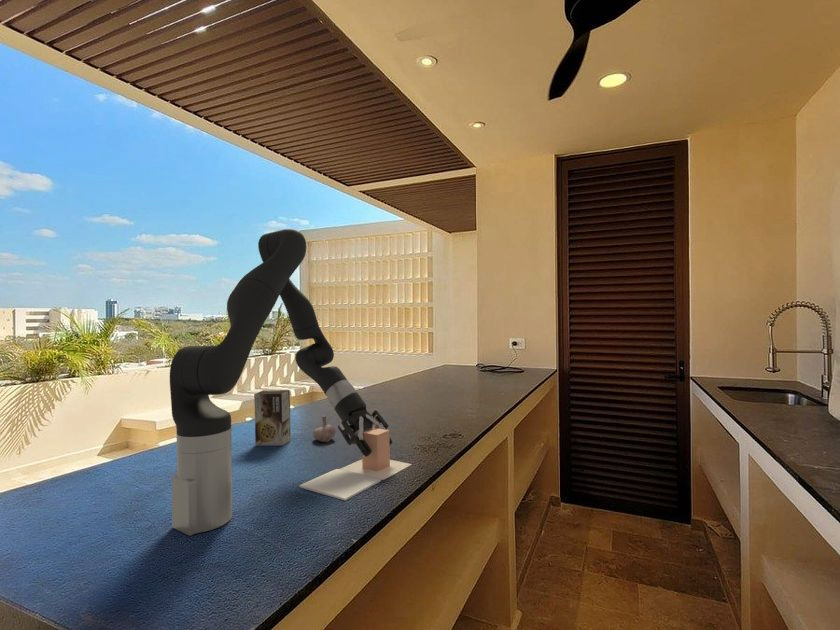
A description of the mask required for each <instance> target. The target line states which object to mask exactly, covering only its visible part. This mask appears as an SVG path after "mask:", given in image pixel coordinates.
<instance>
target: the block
mask: <svg viewBox="0 0 840 630" xmlns="http://www.w3.org/2000/svg"><path fill="white" fill-rule="evenodd" d="M389 437H390V429H386V430H384V429H378V428H373V429H370V430H367V431H364V432H363V439H364V440H365V441H366V443H367V444H368V446H369V447H370V449H371V450H372V452H371V454H370V455H369V456H367V457H365V455H363V454H362V453H361V456H362V458H361V459H362V468H365V469H369V470H374V471H380V470H382V469H384V468H386V467H388V466H390V460H391V457H390V456H391V453H390V452H391V450H390V447H391V445H390V440H389ZM363 439H362V440H363Z"/></svg>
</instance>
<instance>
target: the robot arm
mask: <svg viewBox="0 0 840 630" xmlns="http://www.w3.org/2000/svg"><path fill="white" fill-rule="evenodd" d="M306 240H307V239H305V236H304V235H303V233H302V232H301V231H300V230H298V229H295V228H285V229H281V230H276V231H273V232H272V231H271V232H268V233H265V234H262V235H261V236H260V238H259V239H258V243H257V244H258V253H259V256H260V259H261V261H262V262H261V263H260V264H259V265H257V266H256V267H254V268H252V269H251V270H249V272H248V273H246V274H245V275H244V276H243V277H242V278H241V279H240V280H239V281H238V282H237V284H236V286H235V287H234V288H233V290H232V291H231V293H230V294H229V296H228V298H227V300H226V301H227V302H226V311H227V316H228V320H229V323H230V327H229V330H228V332H227V334H226V335H225V336H224V338H223V340H222V341H221V342H220V343H219V344H217V345H194V346H193V345H190V346H184V347H182V348H180V349H179V350H178V351H177V352H176V353H175V355H174V356H173V358H172V361H171V363H170V368H169V388H170V389H169V391H170V405H171V407H170V408H171V416H172V420H173V422H174V425H175V428H176V474H173V475H172V477H171V501H172V502H171V513H172V514H171V522H172V523H171V527H172V528H173V529H175V530H177V531H179V532H181V533H183V534H184V535H187V536H193V535H195V534H201V533H205V532H208V531H212V530H216V529H218V528H221V527H222V526H224V525H226V524H227V523H229V522H230V520H231V519H232V517H233V481H232V480H233V476H232V475H233V471H232V470H233V469H232V468H233V467H232V465H233V464H232V459H233V458H232V454H233V453H232V449H233V448H232V417H231V413H230V412H229V411H227V410H225V409H223V408H221V407H219V406H217V405H216V404H215V403H214V402H212V400H211V399H210V396H217V395H224V394H227V393H229V392H230V391H232V389H234V387H235V386H236V384H237V383H238V382H239V380H240V377H241V375H242V374H243V371H244V368H245V366H246V363H247V361H248V359H249V356H250V353H251V350H252V348H253V346H254V343H255V342H256V339H257V338H258V336H259V334H260V332H261V330H262V328H263V325H264V324H265V322H266V320H267V319H268V317H269V316H270V314H271V312H272V310H273V309H274V307H275V305H276V302H277V301H278V299H279V297H280V299H281V301H282V302H283V306H284V307H285V310H286V312H287V315H288V318H289V319H288V320H289V322H290V325H291V328H292V331H293V334H294V336H295V338H296V339H297V340H299V341H303V340H304V341H305V340H310V339H312V340H313V341H314V343H312V344H310V345H307V346H304V347H302V348H299V350H298V351H297V352H296V353H295V362H296V365H297V367H298V368H299V369H300V370H301V371H302V372H303V373H304V374H305V375H307V376H308V377H310V379H312V380H313V381H314V382H315V383H316V384H317V385H318V386H319V387H320V389H321V390H322V392H323V393H324V395H325V397H326V398H327V401H328V402H329V404H330V405H331V407H332V408H333V410H334V411H335V413H336V414H337V416H338V417H339V419H340V420H341V422H340V423H339V424H338V426H337V429H338V430H339V432H340V433H341V435H342V437H343V439H344V440H345V442H346V443H347V445H349V446H351V445H354V446H357V448H358V449H359V450H360V452H361V455H362V454H363V455H365V457H367V456H369V455H370V454H371V452H372V450H371V449H370V447H369V446H368V444H367V443H366V441H365V440H364V439H363V432H364V431H367V430H370V429H373V428H378V429H384V430H388V429H389V424H388V423H387V421H386V420H385V419H384V417H383V416H382V415H381V414H380V412H378V410H373V411H372V413H370V412H368V411H367V404H366V402H365V401H364V399H363V398H362V397H361V395H360V394H359V392H358V391H357V390H356V388H355V386H353V384H352V383H350V382H349V380H348V379H347V378H346V376H345V375H344V373H343V372H342V371H341V369H340V368H339V367H338V366H334V365H331V366H326V365H329V364H330V363H332V362H333V360H334V356H335V353H334V349H333V347H332V345H331V344H330V342H329V341H328V340H327V338H326V337H325V335H324V333H323V331H322V330H321V327H320V325H319V321H318V318H317V315H316V312H315V309H314V307H313V305H312V303H311V301H310V300H309V299H308V297H307V296H306V295H305V294H304V293H303V292H302V291H301V290H300V289H299V288H298V287H297V286H296V285H295V283H293V281H292V279H290V278H291V277H292V275H293V274H294V272H295V271H296V270H297V268H298V267H299V266H300V265H301V263H302V262H303V261H304V260H305V257H306V253H307V242H306ZM381 424H382V425H381ZM362 439H363V440H362ZM389 440H390V446H392V444H393V440H392V438H391V437H390V436H389Z"/></svg>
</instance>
